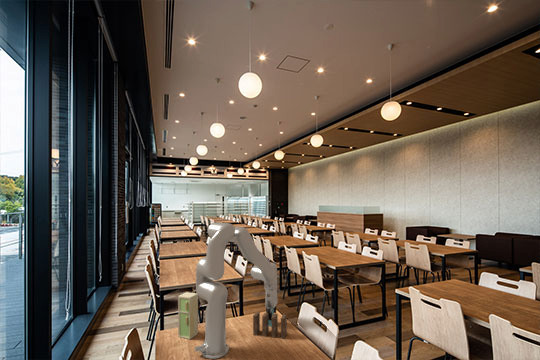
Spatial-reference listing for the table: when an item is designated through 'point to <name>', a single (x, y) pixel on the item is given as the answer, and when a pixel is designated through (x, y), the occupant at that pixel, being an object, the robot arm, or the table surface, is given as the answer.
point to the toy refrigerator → (187, 315)
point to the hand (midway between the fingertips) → (271, 316)
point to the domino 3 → (272, 315)
